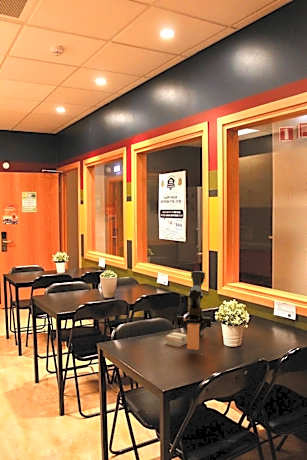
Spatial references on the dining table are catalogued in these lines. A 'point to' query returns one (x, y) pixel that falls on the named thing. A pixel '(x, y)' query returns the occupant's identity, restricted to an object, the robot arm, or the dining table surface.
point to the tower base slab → (176, 343)
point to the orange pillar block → (193, 336)
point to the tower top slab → (176, 337)
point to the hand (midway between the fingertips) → (193, 335)
